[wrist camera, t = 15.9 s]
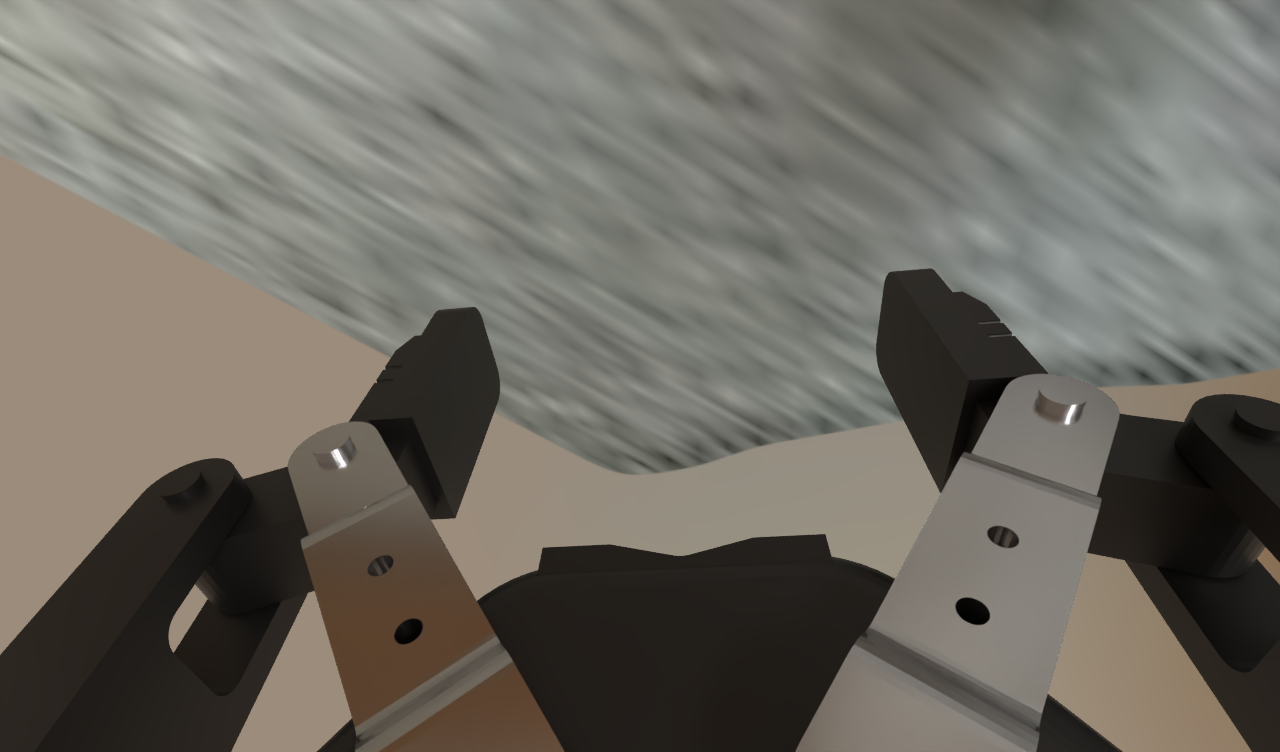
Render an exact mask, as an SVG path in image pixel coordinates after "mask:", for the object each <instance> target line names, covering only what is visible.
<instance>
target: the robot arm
mask: <svg viewBox="0 0 1280 752" xmlns="http://www.w3.org/2000/svg"><path fill="white" fill-rule="evenodd" d="M876 355H877V363H878V367H879V371H880V374H881V376H882V378H883V380H884V382H885V384H886V386H887V388H888V390H889V392H890V394H891V396H892V398H893V400H894V402H895V404H896V406H897V408H898V410H899V412H900V414H901V416H902V418H903V419H904V421H905V423H906V425H907V427H908V429H909V431H910V433H911V435H912V437H913V439H914V441H915V443H916V445H917V447H918V449H919V451H920V453H921V455H922V457H923V459H924V461H925V463H926V465H927V467H928V469H929V471H930V473H931V475H932V477H933V479H934V481H935V483H936V485H937V487H938V489H939V491H940V493H941V495H940V496H939V498H938V500H937V502H936V504H935V506H934V508H933V509H932V511H931V513H930V515H929V517H928V519H927V521H926V523H925V524H924V526H923V528H922V530H921V532H920V534H919V536H918V537H917V539H916V541H915V543H914V545H913V547H912V549H911V550H910V552H909V554H908V556H907V558H906V560H905V562H904V564H903V565H902V567H901V569H900V571H899V573H898V575H897V577H896V579H895V578H892V577H890V576H888V575H886V574H884V573H882V572H880V571H878V570H876V569H873V568H870V567H868V566H865V565H863V564H860V563H856V562H853V561H849V560H845V559H841V558H836V557H831V554H830V550H829V546H828V542H827V539H826V535H825V534H819V535H799V536H779V537H759V538H758V537H757V538H751V539H747V540H743V541H739V542H735V543H732V544H728V545H724V546H721V547H717V548H713V549H709V550H706V551H702V552H698V553H694V554H691V555H686V556H673V555H667V554H661V553H656V552H650V551H644V550H638V549H633V548H627V547H621V546H615V545H592V546H591V545H590V546H570V547H548V548H543V549H542V554H541V559H540V564H539V569H538V570H537V571H533V572H530V573H527V574H525V575H522V576H520V577H517V578H515V579H512V580H510V581H508V582H506V583H504V584H503V585H500V586H499V587H497V588H495V589H494V590H492V591H491V592H489V593H487V594H486V595H484V596H483V597H482V598H480V599H479V600H478V601H476V599H475V597H474V595H473V594H472V592H471V590H470V588H469V586H468V585H467V583H466V581H465V579H464V578H463V576H462V574H461V572H460V571H459V569H458V567H457V565H456V564H455V562H454V561H453V558H452V556H451V555H450V553H449V551H448V549H447V548H446V546H445V544H444V542H443V541H442V539H441V537H440V536H439V534H438V532H437V530H436V528H435V526H434V525H433V523H432V521H431V519H449V518H456V515H457V512H458V509H459V507H460V504H461V501H462V498H463V496H464V493H465V490H466V487H467V485H468V482H469V479H470V477H471V474H472V471H473V468H474V466H475V463H476V460H477V457H478V455H479V452H480V449H481V446H482V444H483V441H484V438H485V435H486V433H487V430H488V427H489V424H490V422H491V419H492V416H493V414H494V411H495V408H496V405H497V403H498V399H499V394H500V379H499V373H498V369H497V366H496V362H495V359H494V356H493V352H492V349H491V346H490V342H489V339H488V336H487V333H486V329H485V326H484V323H483V319H482V317H481V314H480V312H479V311H478V309H477V308H475V307H468V308H457V309H445V310H438V311H436V313H435V314H434V316H433V317H432V319H431V320H430V322H429V324H428V325H427V327H426V328H425V330H424V332H423V333H422V335H420V336H414V337H413V338H412V339H410V340H409V341H408V342H406V343H405V344H404V345H403V346H401V347H400V348H399V349H397V350H396V351H395V353H394V354H393V356H392V357H391V359H390V360H389V362H388V363H387V365H386V366H385V367H386V370H383V371H382V372H381V374H380V375H379V377H378V379H377V383H374V385H373V386H372V388H371V389H370V391H369V392H368V394H367V395H366V397H365V398H364V400H363V401H362V403H361V404H360V406H359V407H358V409H357V410H356V412H355V413H354V415H353V416H352V418H351V419H350V421H349V422H346V423H341V424H337V425H334V426H331V427H328V428H326V429H323V430H321V431H319V432H317V433H316V434H314V435H312V436H311V437H309V438H308V439H306V440H305V441H304V442H303V443H301V444H300V445H299V446H298V447H297V448H296V450H295V451H294V452H293V454H292V455H291V457H290V459H289V462H288V467H285V468H281V469H278V470H274V471H271V472H267V473H264V474H260V475H256V476H253V477H250V478H246V479H243V478H242V477H241V476H240V474H239V473H238V471H237V470H236V468H235V467H234V465H233V464H232V463H231V462H230V461H228V460H225V459H219V458H212V459H204V460H200V461H196V462H193V463H190V464H187V465H185V466H182V467H180V468H178V469H176V470H174V471H172V472H170V473H168V474H167V475H165V476H163V477H162V478H160V479H159V480H157V481H156V482H155V483H153V484H152V485H151V486H150V487H149V488H147V489H146V490H145V491H144V492H143V493H142V494H141V496H140V497H139V498H138V499H137V500H136V501H135V502H134V503H133V505H132V506H131V507H130V508H129V509H128V510H127V511H126V513H125V514H124V515H123V516H122V517H121V518H120V519H119V521H118V522H117V523H116V524H115V525H114V526H113V527H112V529H111V530H110V531H109V532H108V533H107V534H106V535H105V537H104V538H103V539H102V540H101V541H100V542H99V543H98V545H97V546H96V547H95V548H94V549H93V550H92V551H91V553H90V554H89V555H88V556H87V557H86V558H85V559H84V560H83V562H82V563H81V564H80V565H79V566H78V567H77V568H76V569H75V571H74V572H73V573H72V574H71V575H70V576H69V577H68V579H67V580H66V581H65V582H64V583H63V584H62V585H61V587H60V588H59V589H58V590H57V591H56V592H55V593H54V595H53V596H52V597H51V598H50V599H49V600H48V601H47V602H46V604H45V605H44V606H43V607H42V608H41V609H40V610H39V612H38V613H37V614H36V615H35V616H34V617H33V618H32V619H31V621H30V622H29V623H28V624H27V625H26V626H25V627H24V629H23V630H22V631H21V632H20V633H19V634H18V635H17V637H16V638H15V639H14V640H13V641H12V642H11V643H10V644H9V646H8V647H7V648H6V649H5V650H4V651H3V652H2V654H1V655H0V752H231V751H232V749H233V747H234V744H235V742H236V740H237V738H238V736H239V734H240V732H241V730H242V728H243V726H244V724H245V722H246V720H247V718H248V715H249V714H250V711H251V709H252V707H253V705H254V703H255V701H256V699H257V697H258V695H259V693H260V691H261V689H262V687H263V684H264V682H265V681H266V679H267V676H268V674H269V672H270V670H271V668H272V666H273V664H274V662H275V660H276V658H277V656H278V654H279V652H280V650H281V647H282V646H283V643H284V641H285V639H286V637H287V635H288V633H289V631H290V629H291V627H292V625H293V623H294V621H295V619H296V617H297V614H298V613H299V610H300V608H301V606H302V604H303V602H304V600H305V598H306V596H307V594H308V592H312V591H315V593H316V597H317V600H318V603H319V607H320V610H321V614H322V617H323V621H324V624H325V627H326V631H327V634H328V638H329V641H330V644H331V648H332V651H333V654H334V658H335V661H336V665H337V668H338V671H339V675H340V678H341V682H342V685H343V688H344V692H345V695H346V699H347V702H348V706H349V708H350V712H351V716H352V719H351V720H350V721H349V722H348V723H347V724H346V725H344V726H343V727H342V728H341V729H340V730H339V731H338V732H337V733H336V734H335V735H334V736H333V737H332V738H331V739H330V740H329V741H328V742H327V743H326V744H325V745H324V746H322V747H321V748H320V749H319V750H318V751H317V752H1122V751H1121V750H1120V749H1118V748H1117V747H1116V746H1115V745H1113V744H1112V743H1111V742H1109V741H1108V740H1107V739H1106V738H1104V737H1103V736H1102V735H1100V734H1099V733H1098V732H1097V731H1095V730H1094V729H1093V728H1091V727H1090V726H1089V725H1087V724H1086V723H1085V722H1084V721H1082V720H1081V719H1080V718H1078V717H1077V716H1076V715H1075V714H1073V713H1072V712H1071V711H1069V710H1068V709H1067V708H1066V707H1064V706H1063V705H1062V704H1060V703H1059V702H1058V701H1057V700H1055V699H1054V698H1052V697H1051V696H1050V695H1049V694H1048V691H1049V687H1050V683H1051V680H1052V676H1053V673H1054V669H1055V666H1056V662H1057V658H1058V655H1059V651H1060V648H1061V644H1062V641H1063V637H1064V633H1065V629H1066V626H1067V623H1068V619H1069V616H1070V612H1071V608H1072V605H1073V601H1074V597H1075V594H1076V591H1077V587H1078V583H1079V580H1080V576H1081V573H1082V569H1083V565H1084V562H1085V558H1086V555H1087V553H1091V554H1096V555H1101V556H1106V557H1112V558H1117V559H1122V560H1125V561H1126V563H1127V564H1128V566H1129V567H1130V569H1131V570H1132V572H1133V573H1134V575H1135V576H1136V578H1137V579H1138V581H1139V582H1140V584H1141V585H1142V587H1143V588H1144V590H1145V591H1146V593H1147V594H1148V596H1149V597H1150V599H1151V600H1152V602H1153V603H1154V605H1155V606H1156V608H1157V609H1158V611H1159V612H1160V614H1161V615H1162V617H1163V618H1164V620H1165V621H1166V623H1167V625H1168V626H1169V627H1170V629H1171V630H1172V632H1173V633H1174V635H1175V636H1176V638H1177V640H1178V641H1179V642H1180V644H1181V645H1182V647H1183V648H1184V650H1185V651H1186V653H1187V654H1188V656H1189V658H1190V659H1191V660H1192V662H1193V664H1194V665H1195V667H1196V668H1197V669H1198V671H1199V673H1200V674H1201V676H1202V677H1203V679H1204V680H1205V681H1206V683H1207V685H1208V686H1209V688H1210V689H1211V691H1212V692H1213V694H1214V695H1215V696H1216V698H1217V700H1218V701H1219V703H1220V704H1221V706H1222V707H1223V709H1224V710H1225V711H1226V713H1227V715H1228V716H1229V717H1230V719H1231V721H1232V722H1233V723H1234V725H1235V727H1236V728H1237V730H1238V731H1239V733H1240V734H1241V736H1242V737H1243V739H1244V740H1245V741H1246V743H1247V744H1248V746H1249V748H1250V749H1251V751H1252V752H1280V585H1279V584H1278V583H1277V581H1276V580H1275V579H1274V578H1273V577H1272V576H1271V574H1270V573H1269V572H1268V571H1267V570H1266V569H1265V568H1264V566H1263V565H1262V564H1261V563H1260V562H1259V561H1258V560H1257V558H1258V557H1259V555H1260V554H1261V552H1262V551H1263V550H1264V548H1265V547H1266V548H1267V549H1268V550H1269V551H1270V552H1271V553H1272V554H1273V555H1274V557H1275V558H1276V559H1277V560H1278V561H1279V562H1280V404H1279V403H1275V402H1272V401H1269V400H1264V399H1261V398H1256V397H1250V396H1245V395H1234V394H1221V395H1212V396H1207V397H1204V398H1202V399H1199V400H1198V401H1196V402H1195V403H1194V405H1193V406H1192V408H1191V409H1190V411H1189V413H1188V415H1187V417H1186V419H1185V421H1184V422H1178V421H1170V420H1162V419H1154V418H1147V417H1138V416H1131V415H1125V414H1120V413H1119V409H1118V407H1117V405H1116V403H1115V402H1114V401H1113V400H1112V399H1111V398H1110V397H1109V396H1108V395H1107V394H1106V393H1104V392H1103V391H1101V390H1100V389H1098V388H1096V387H1094V386H1092V385H1090V384H1088V383H1085V382H1083V381H1080V380H1077V379H1074V378H1070V377H1066V376H1061V375H1053V374H1048V373H1047V371H1046V370H1045V369H1044V368H1043V367H1042V366H1041V365H1040V364H1039V363H1038V361H1037V360H1036V359H1035V358H1034V357H1033V356H1032V355H1031V354H1030V352H1029V351H1028V350H1027V349H1026V348H1025V347H1024V346H1023V345H1022V344H1021V342H1020V341H1019V340H1018V339H1017V338H1016V337H1015V336H1012V332H1011V331H1010V330H1009V329H1008V328H1007V327H1006V326H1005V325H1004V323H1000V319H999V318H998V317H997V316H996V314H995V313H994V312H993V311H992V310H991V309H990V308H989V307H988V306H987V304H985V303H983V302H981V301H979V300H977V299H976V298H974V297H972V296H970V295H968V294H966V293H964V292H952V291H951V290H950V289H949V287H948V286H947V285H946V284H945V283H944V281H943V280H942V279H941V278H940V277H939V275H938V274H937V273H936V272H935V271H934V270H933V269H919V270H907V271H895V272H890V273H888V275H887V276H886V279H885V283H884V289H883V297H882V305H881V312H880V320H879V327H878V335H877V343H876ZM194 584H195V585H196V586H197V587H198V588H199V589H200V590H201V591H202V593H203V594H204V595H205V596H206V597H207V598H208V600H207V601H206V603H205V604H204V606H203V608H202V609H201V611H200V612H199V614H198V615H197V617H196V619H195V620H194V622H193V623H192V625H191V627H190V628H189V630H188V632H187V633H186V634H185V636H184V638H183V639H182V641H181V643H180V644H179V645H178V647H177V649H176V650H175V652H174V653H173V652H172V650H171V648H170V645H169V640H168V633H169V627H170V623H171V621H172V619H173V616H174V615H175V613H176V611H177V610H178V608H179V607H180V605H181V604H182V602H183V601H184V599H185V598H186V596H187V595H188V594H189V592H190V591H191V589H192V588H193V586H194Z"/></svg>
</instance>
